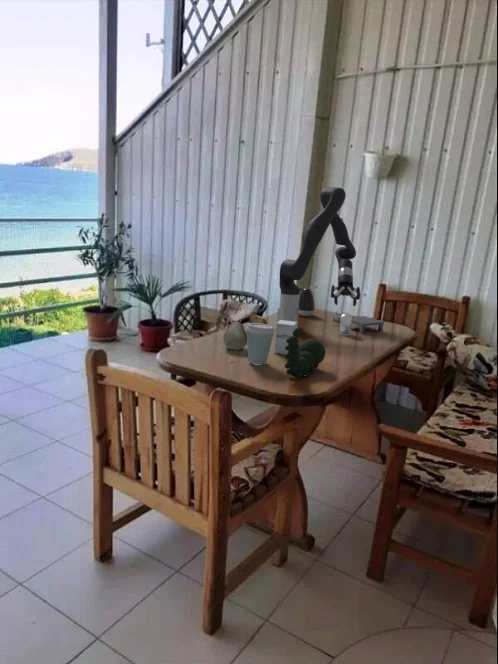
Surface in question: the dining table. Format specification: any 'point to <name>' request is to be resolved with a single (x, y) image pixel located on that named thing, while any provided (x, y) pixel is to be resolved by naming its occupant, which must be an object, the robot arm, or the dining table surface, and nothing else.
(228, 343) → the fruit
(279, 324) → the supplement box
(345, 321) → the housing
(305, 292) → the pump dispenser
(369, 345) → the dining table surface
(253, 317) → the tin
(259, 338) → the disposable coffee cup
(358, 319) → the stand
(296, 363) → the toy figurine
